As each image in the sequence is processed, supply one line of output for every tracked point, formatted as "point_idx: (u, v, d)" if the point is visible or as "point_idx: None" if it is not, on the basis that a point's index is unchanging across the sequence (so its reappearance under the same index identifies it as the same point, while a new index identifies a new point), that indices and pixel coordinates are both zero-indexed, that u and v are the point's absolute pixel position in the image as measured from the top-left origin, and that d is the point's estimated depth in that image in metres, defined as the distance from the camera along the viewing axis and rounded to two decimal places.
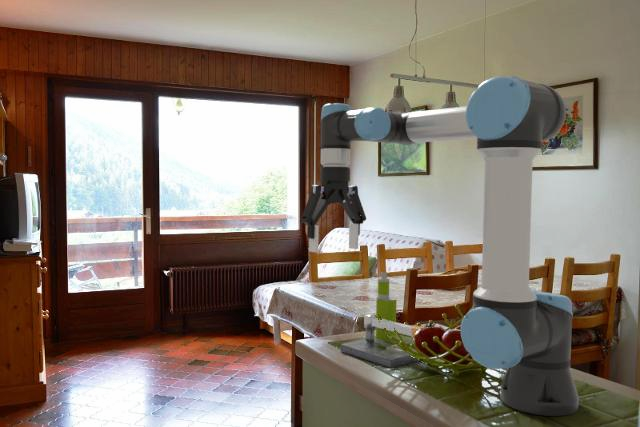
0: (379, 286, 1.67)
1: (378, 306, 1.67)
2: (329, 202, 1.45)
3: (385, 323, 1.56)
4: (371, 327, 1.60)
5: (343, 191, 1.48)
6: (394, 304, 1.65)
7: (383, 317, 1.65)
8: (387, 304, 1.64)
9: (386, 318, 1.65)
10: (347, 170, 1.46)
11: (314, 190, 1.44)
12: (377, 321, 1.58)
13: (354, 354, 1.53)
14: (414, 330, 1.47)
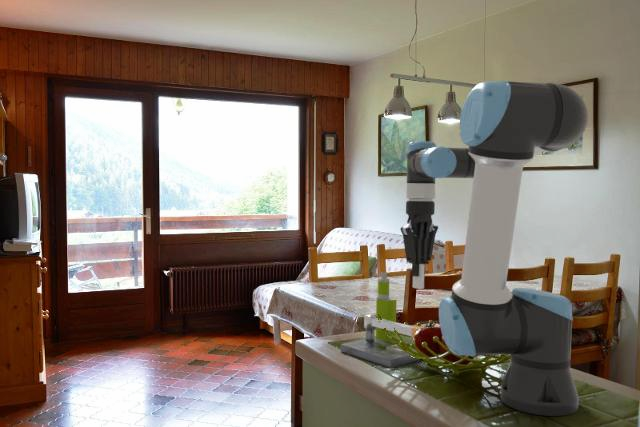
0: (379, 286, 1.67)
1: (378, 306, 1.67)
2: (421, 237, 1.55)
3: (385, 323, 1.56)
4: (371, 327, 1.60)
5: (428, 223, 1.56)
6: (394, 304, 1.65)
7: (383, 317, 1.65)
8: (387, 304, 1.64)
9: (386, 318, 1.65)
10: (433, 204, 1.54)
11: (405, 233, 1.53)
12: (377, 321, 1.58)
13: (354, 354, 1.53)
14: (414, 330, 1.47)
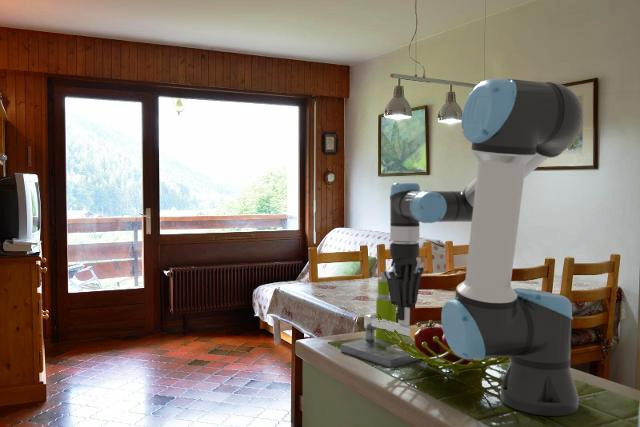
0: (379, 286, 1.67)
1: (378, 306, 1.67)
2: (406, 280, 1.51)
3: (384, 323, 1.55)
4: (371, 327, 1.60)
5: (413, 266, 1.52)
6: None
7: (383, 317, 1.65)
8: (387, 304, 1.64)
9: (386, 318, 1.65)
10: (417, 247, 1.50)
11: (389, 277, 1.49)
12: (377, 321, 1.58)
13: (354, 354, 1.53)
14: (412, 330, 1.47)
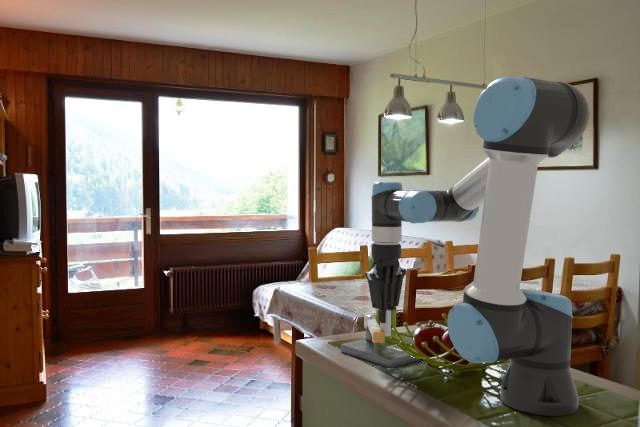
0: None
1: None
2: (387, 282, 1.47)
3: (369, 324, 1.55)
4: (367, 327, 1.60)
5: (395, 267, 1.48)
6: None
7: None
8: None
9: None
10: (399, 248, 1.46)
11: (370, 278, 1.45)
12: (368, 321, 1.58)
13: (354, 354, 1.53)
14: (372, 333, 1.44)
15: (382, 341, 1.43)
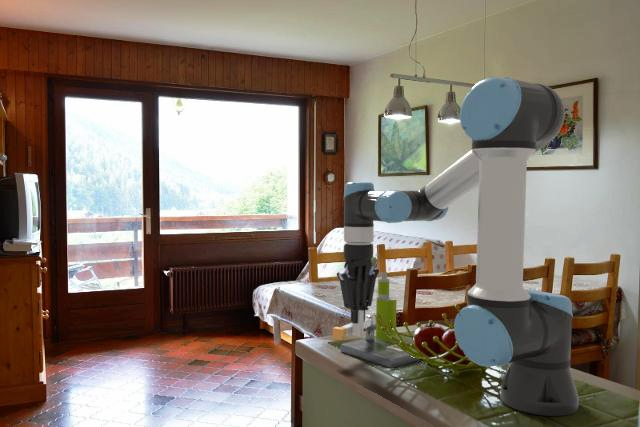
0: (379, 286, 1.67)
1: (378, 306, 1.67)
2: (359, 282, 1.47)
3: None
4: None
5: (367, 268, 1.48)
6: (394, 304, 1.65)
7: (383, 317, 1.65)
8: (387, 304, 1.64)
9: (386, 318, 1.65)
10: (371, 248, 1.46)
11: (342, 278, 1.45)
12: None
13: (354, 354, 1.53)
14: None
15: (340, 338, 1.46)
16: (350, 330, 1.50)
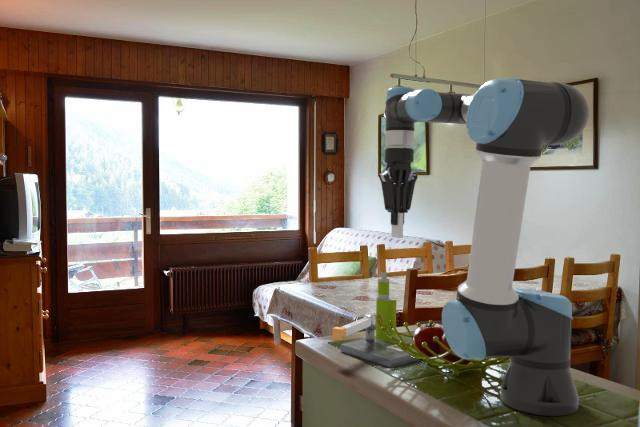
0: (379, 286, 1.67)
1: (378, 306, 1.67)
2: (400, 184, 1.53)
3: None
4: None
5: (407, 171, 1.54)
6: (394, 304, 1.65)
7: (383, 317, 1.65)
8: (387, 304, 1.64)
9: (386, 318, 1.65)
10: (412, 151, 1.52)
11: (383, 180, 1.51)
12: None
13: (354, 354, 1.53)
14: None
15: (340, 338, 1.46)
16: (350, 330, 1.50)
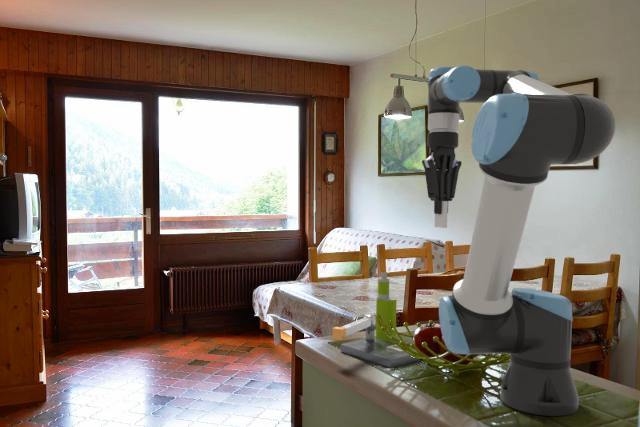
0: (379, 286, 1.67)
1: (378, 306, 1.67)
2: (444, 171, 1.43)
3: None
4: None
5: (451, 157, 1.45)
6: (394, 304, 1.65)
7: (383, 317, 1.65)
8: (387, 304, 1.64)
9: (386, 318, 1.65)
10: (457, 135, 1.43)
11: (427, 165, 1.42)
12: None
13: (354, 354, 1.53)
14: None
15: (340, 338, 1.46)
16: (350, 330, 1.50)
